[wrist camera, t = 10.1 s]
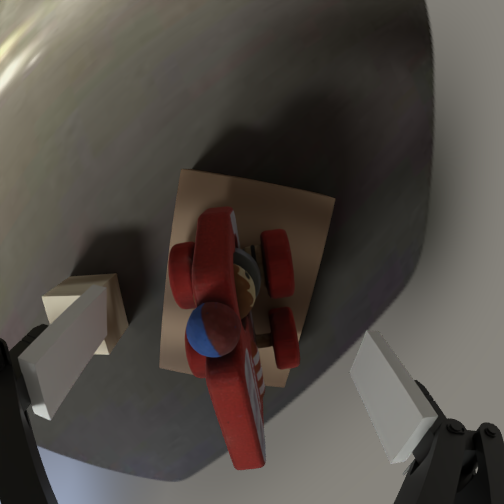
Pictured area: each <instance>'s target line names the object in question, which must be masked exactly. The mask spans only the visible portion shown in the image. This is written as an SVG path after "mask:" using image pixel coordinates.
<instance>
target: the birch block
mask: <svg viewBox="0 0 504 504" xmlns="http://www.w3.org/2000/svg"><path fill="white" fill-rule="evenodd" d="M93 284H94V285H98V286H102V287H107V336H106V337H105V339H104V340H103V342H102V343H101V344H100V346H99V347H98V349H97V350H96V352H95V353H94V354H106V355H109V354H110V353H111V351H112V350H113V348H114V347H115V345H116V344H117V342H118V341H119V339H120V338H121V336H122V335H123V333H124V332H125V330H126V329H127V327H128V326H129V325H128V321H127V317H126V313H125V309H124V305H123V300H122V296H121V292H120V287H119V282H118V278H117V273H114V274H99V275H85V276H70V277H69V278H67V279H66V280H64V281H63V282H61V283H60V284H59V285H57V286H56V287H54V288H53V289H52V290H50V291H49V292H47V293H46V294H45V295H43V296H42V300H43V303H44V306H45V310H46V313H47V316H48V319H49V322H50V324H51V323H52V322H53V321H54V320H55V319H56V318H58V317H59V316H60V315H61V314H62V313H63V312H64V311H65V310H66V309H67V308H68V307H69V306H70V305H71V304H72V303H73V302H74V301H75V300H77V299H78V298H79V297H80V296H81V295H82V294H83V293H84V292H85V291H86V290H87V289H89V288H90V287H91V286H92V285H93Z"/></svg>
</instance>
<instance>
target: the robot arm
mask: <svg viewBox="0 0 504 504" xmlns="http://www.w3.org/2000/svg"><path fill="white" fill-rule="evenodd" d="M106 336H107V287H102V286H98V285H94V284H93V285H92V286H91V287H90V288H89V289H87V290H86V291H85V292H84V293H83V294H82V295H81V296H80V297H79V298H78V299H77V300H75V301H74V302H73V303H72V304H71V305H70V306H69V307H68V308H67V309H66V310H65V311H64V312H63V313H62V314H61V315H60V316H59V317H58V318H56V319H55V320H54V321H53V322H52V323H51V324H50V325H49V326H48V325H45V324H41V325H39V326H37V327H35V328H33V329H32V330H31V331H30V332H29V333H28V334H27V336H25V337H24V338H23V339H22V341H19V342H18V343H17V344H16V345H15V346H14V347H13V348H12V349H11V350H10V351H8V346H7V344H6V342H5V341H4V340H3V339H1V338H0V501H1V504H58V502H57V500H56V497H55V495H54V493H53V490H52V488H51V485H50V483H49V480H48V478H47V475H46V472H45V469H44V466H43V463H42V460H41V457H40V454H39V451H38V448H37V445H36V441H35V438H34V435H33V431H32V427H31V423H30V419H29V415H28V412H27V410H26V409H27V408H28V407H29V405H30V404H31V405H32V408H33V411H34V413H35V414H37V415H39V416H41V417H44V418H46V419H48V420H51V419H52V417H53V416H54V414H55V412H56V411H57V409H58V408H59V406H60V404H61V403H62V401H63V400H64V398H65V397H66V395H67V394H68V392H69V390H70V389H71V387H72V386H73V384H74V383H75V381H76V380H77V378H78V377H79V375H80V374H81V372H82V371H83V369H84V368H85V366H86V365H87V363H88V362H89V360H90V359H91V357H92V356H93V355H94V353H95V352H96V350H97V349H98V347H99V346H100V344H101V343H102V342H103V340H104V339H105V337H106ZM350 375H351V377H352V379H353V381H354V384H355V385H356V388H357V390H358V392H359V394H360V397H361V399H362V401H363V403H364V405H365V408H366V410H367V412H368V414H369V416H370V419H371V421H372V423H373V425H374V427H375V430H376V432H377V434H378V437H379V439H380V441H381V443H382V446H383V448H384V450H385V453H386V455H387V457H388V459H389V462H390V464H393V463H399V462H405V461H406V460H407V458H408V457H409V456H410V455H411V453H413V455H414V457H415V459H414V461H413V462H412V463H411V464H410V465H409V467H408V468H407V469H406V470H405V471H404V473H403V475H405V474H406V473H407V472H408V473H407V475H406V477H405V480H404V482H403V484H402V487H401V489H400V491H399V493H398V495H397V497H396V500H395V502H394V504H504V442H503V438H502V434H501V432H500V430H499V429H498V428H497V426H495V425H494V424H490V423H482V424H481V425H480V427H479V428H478V429H477V431H471V430H466V428H465V427H464V425H463V424H462V423H461V422H459V421H457V420H455V419H447V418H446V417H445V415H444V414H443V412H442V411H441V409H440V408H439V406H438V405H437V404H436V402H435V401H433V398H432V396H431V395H429V392H428V391H427V389H426V388H425V387H424V386H423V385H422V384H421V383H420V382H418V381H417V380H413V378H412V377H411V375H410V374H409V372H408V371H407V370H406V368H405V367H404V365H403V364H402V363H401V361H400V360H399V358H398V357H397V356H396V354H395V353H394V351H393V350H392V349H391V348H390V346H389V344H388V343H387V342H386V340H385V339H384V338H383V336H382V335H381V334H380V332H379V331H370V330H366V333H365V335H364V338H363V340H362V343H361V346H360V348H359V350H358V353H357V355H356V358H355V360H354V363H353V365H352V367H351V370H350ZM477 467H478V471H477V473H476V472H475V469H476V468H477Z"/></svg>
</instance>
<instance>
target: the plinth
mask: <svg viewBox="0 0 504 504" xmlns="http://www.w3.org/2000/svg"><path fill="white" fill-rule="evenodd" d="M334 203H335V198H332V197H329V196H326V195H323V194H320V193H315V192H311V191H306V190H302V189H297V188H292V187H288V186H283V185H278V184H273V183H268V182H263V181H258V180H252V179H247V178H242V177H236V176H230V175H225V174H219V173H213V172H207V171H201V170H194V169H181V173H180V179H179V185H178V191H177V198H176V204H175V211H174V218H173V225H172V233H171V240H170V248H169V253H170V250H171V248H172V247H173V246H174V245H175V244H179V243H184V242H190V241H191V242H195V239H196V231H197V223H198V218H199V216H200V215H201V214H202V213H203V212H204V211H205V210H206V209H209V208H216V207H225V206H229V207H232V208H233V210H234V214H235V218H236V224H237V230H238V236H239V242H240V248H241V250H242V249H244V248H245V247H249V246H251V245H254V246H257V245H260V244H261V242H260V234H261V233H262V232H263V231H266V230H274V229H284V230H285V231H286V233H287V236H288V240H289V244H290V250H291V255H292V263H293V270H294V281H295V290H294V294H293V295H292V296H290V297H285V298H278V299H272V298H270V296H269V295H268V291H267V288H266V287H262V288H260V290H259V293H258V295H257V297H256V299H255V302H254V305H253V307H252V309H251V312H252V318H253V323H254V330H255V333H256V334H257V335H258V334H265V333H270V332H271V329H270V323H269V317H268V312H269V310H271V309H274V308H280V307H289V308H291V310H292V312H293V316H294V320H295V325H296V330H297V336H298V342H299V338H300V335H301V332H302V328H303V325H304V321H305V318H306V314H307V311H308V307H309V304H310V300H311V296H312V293H313V289H314V285H315V282H316V278H317V274H318V270H319V266H320V262H321V258H322V254H323V250H324V246H325V242H326V238H327V234H328V230H329V225H330V221H331V217H332V212H333V208H334ZM168 261H169V257H168ZM195 309H196V308H195ZM193 310H194V309H187V310H186V309H181V308H180V307H179V306H178V305H177V303H176V302H175V300H174V297H173V294H172V290H171V287H170V281H169V274H168V265H167V274H166V284H165V294H164V305H163V318H162V331H161V346H160V365H159V368H163V369H168V370H172V371H177V372H182V373H187V374H193V373H192V371H191V370H190V367H189V364H188V361H187V357H186V351H185V330H186V325H187V322H188V319H189V317H190V315H191V313H192V311H193ZM258 351H259V355H260V362H261V367H262V373H263V379H264V385H266V386H275V387H284V386H285V383H286V380H287V377H288V374H289V371H290V368H289V369H283V370H280V369H278V368H277V366H276V362H275V356H274V350H273V346H271V347H266V348H258Z"/></svg>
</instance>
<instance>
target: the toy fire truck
mask: <svg viewBox="0 0 504 504" xmlns="http://www.w3.org/2000/svg"><path fill="white" fill-rule="evenodd" d="M260 242H261V244H260V245H257V246H254V245H251V246H249V247H245V248H244V249H242V250H241V248H240V242H239V236H238V230H237V224H236V218H235V214H234V210H233V208H232V207H229V206H225V207H216V208H209V209H206V210H205V211H204V212H203V213H202V214H201V215H200V216H199V218H198V223H197V231H196V239H195V242H191V241H190V242H184V243H179V244H175V245H174V246H173V247H172V248H171V250H170V253H169V261H168V274H169V281H170V287H171V290H172V294H173V297H174V300H175V302H176V303H177V305H178V306H179V307H180V308H181V309H186V310H187V309H194V310H193V311H192V313H191V315H190V317H189V319H188V322H187V325H186V330H185V351H186V357H187V361H188V364H189V367H190V370H191V371H192V373H193V375H194V376H196V377H198V378H206V382H207V387H208V390H209V393H210V396H211V400H212V403H213V406H214V409H215V411H216V416H217V418H218V422H219V424H220V428H221V430H222V433H223V437H224V439H225V442H226V445H227V448H228V451H229V454H230V457H231V459H232V462H233V465H234V467H235V468H236V469H237V470H245V469H255V468H261V467H263V466H264V465H265V461H266V454H265V435H264V426H263V396H264V393H265V385H264V379H263V373H262V367H261V362H260V355H259V351H258V348H266V347H271V346H273V350H274V356H275V362H276V366H277V368H278V369H280V370H283V369H289V368H295V367H297V366H299V364H300V352H299V343H298V336H297V330H296V325H295V320H294V316H293V312H292V310H291V308H289V307H280V308H274V309H271V310H269V312H268V317H269V323H270V329H271V332H270V333H265V334H258V335H257V334H256V333H255V330H254V323H253V318H252V312H251V309H252V307H253V305H254V302H255V299H256V297H257V295H258V293H259V290H260V288H262V287H266V288H267V291H268V295H269V296H270V298H272V299H278V298H285V297H290V296H292V295H293V294H294V290H295V281H294V270H293V263H292V255H291V250H290V244H289V240H288V236H287V233H286V231H285V230H284V229H274V230H266V231H263V232H262V233H261V234H260ZM195 308H196V309H195Z"/></svg>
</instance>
